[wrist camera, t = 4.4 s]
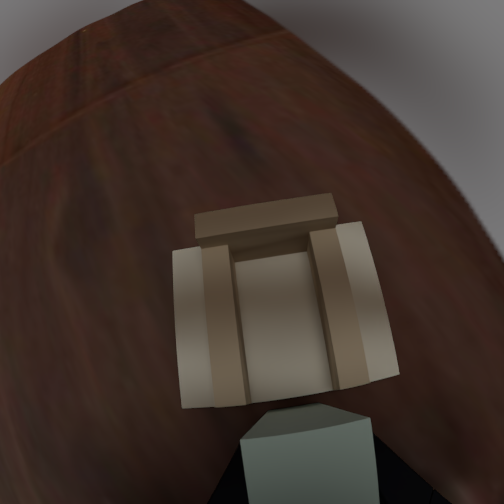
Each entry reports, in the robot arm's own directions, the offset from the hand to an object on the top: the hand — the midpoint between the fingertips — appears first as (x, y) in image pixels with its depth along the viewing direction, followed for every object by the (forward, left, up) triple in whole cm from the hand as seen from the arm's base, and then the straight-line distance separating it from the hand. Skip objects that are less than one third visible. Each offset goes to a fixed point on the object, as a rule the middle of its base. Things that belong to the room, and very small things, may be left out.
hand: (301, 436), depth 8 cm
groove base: (+4, -2, -7) cm, 8 cm away
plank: (-1, +1, -7) cm, 7 cm away
